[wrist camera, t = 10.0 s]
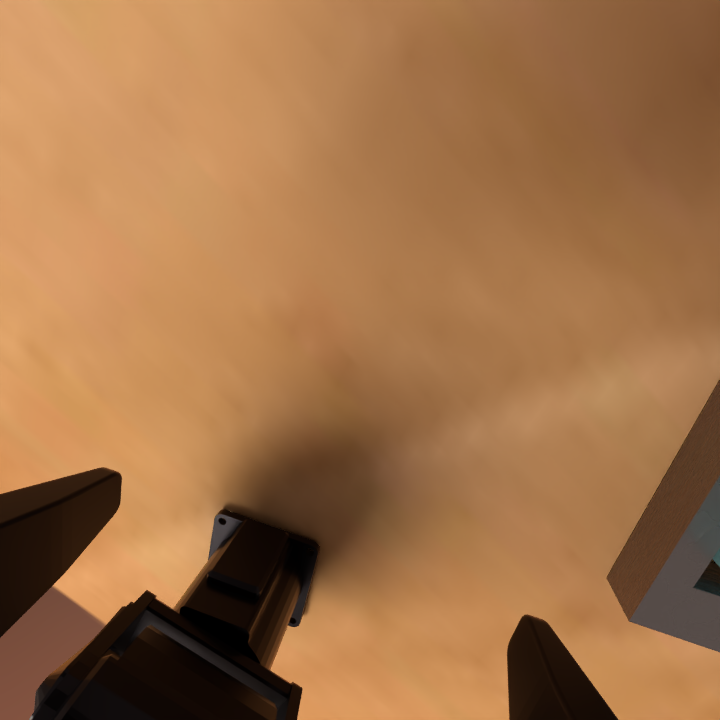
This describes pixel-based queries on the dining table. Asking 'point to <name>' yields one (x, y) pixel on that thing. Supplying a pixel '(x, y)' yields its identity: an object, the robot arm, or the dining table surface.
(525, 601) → the dining table surface
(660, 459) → the dining table surface
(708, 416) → the plate with rectangular holes
